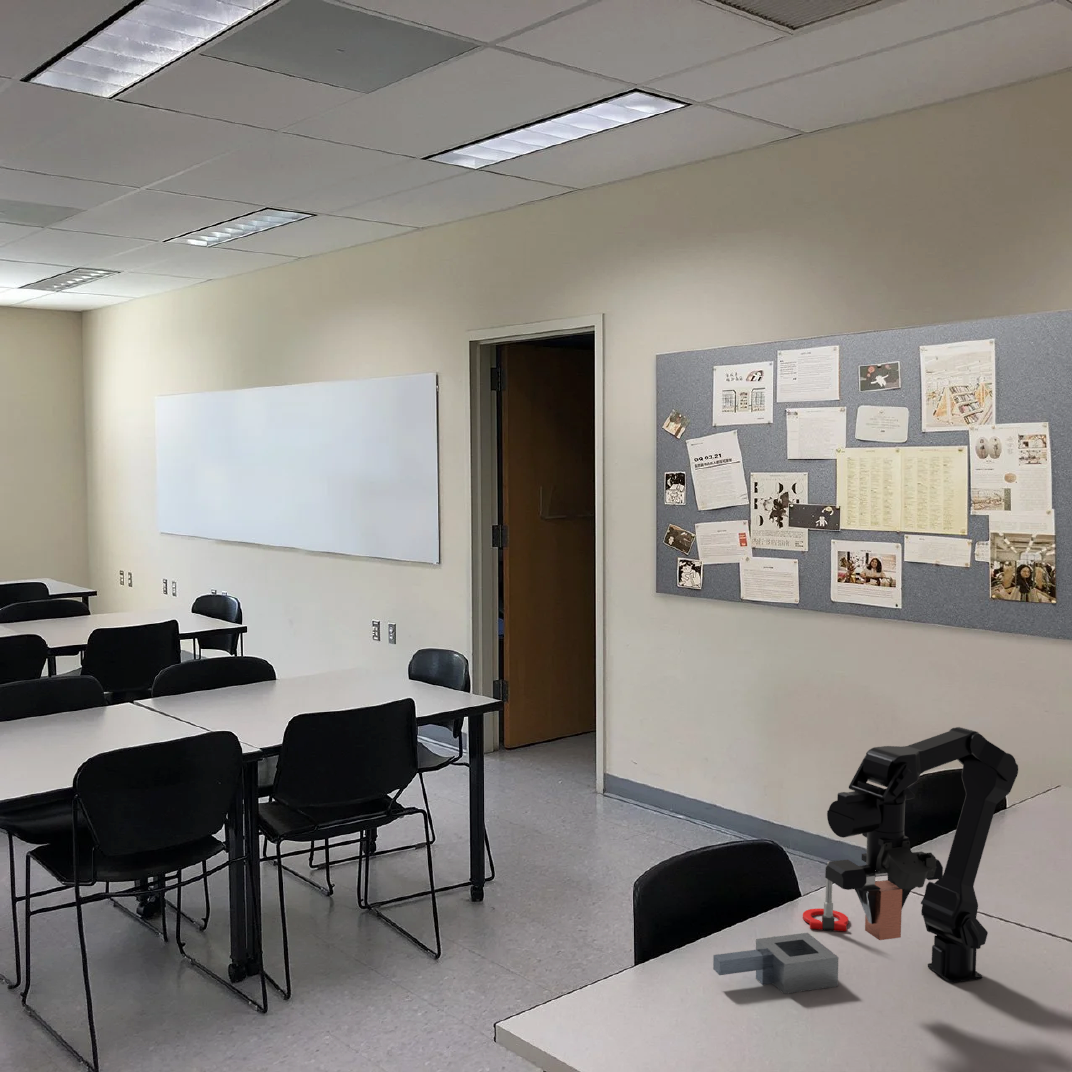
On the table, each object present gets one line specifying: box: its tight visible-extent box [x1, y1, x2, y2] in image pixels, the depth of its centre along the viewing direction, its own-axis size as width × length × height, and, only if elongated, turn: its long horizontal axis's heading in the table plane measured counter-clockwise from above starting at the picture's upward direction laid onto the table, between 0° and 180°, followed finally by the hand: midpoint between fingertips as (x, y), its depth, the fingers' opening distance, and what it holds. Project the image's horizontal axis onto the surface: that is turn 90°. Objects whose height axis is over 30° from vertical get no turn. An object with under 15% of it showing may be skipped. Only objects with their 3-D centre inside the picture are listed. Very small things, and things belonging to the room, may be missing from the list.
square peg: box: [864, 879, 903, 941], centre depth 180 cm, size 4×4×8 cm
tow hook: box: [802, 860, 849, 932], centre depth 210 cm, size 8×13×9 cm
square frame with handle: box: [712, 932, 839, 994], centre depth 186 cm, size 20×10×5 cm, turn 106°
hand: (882, 921), depth 180 cm, fingers closed on square peg, 4 cm apart
